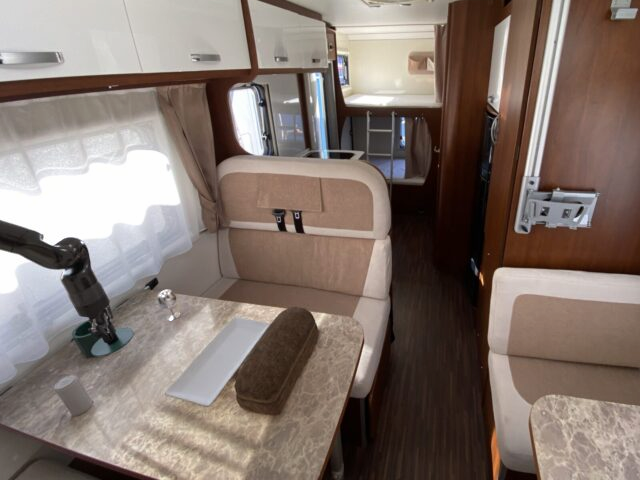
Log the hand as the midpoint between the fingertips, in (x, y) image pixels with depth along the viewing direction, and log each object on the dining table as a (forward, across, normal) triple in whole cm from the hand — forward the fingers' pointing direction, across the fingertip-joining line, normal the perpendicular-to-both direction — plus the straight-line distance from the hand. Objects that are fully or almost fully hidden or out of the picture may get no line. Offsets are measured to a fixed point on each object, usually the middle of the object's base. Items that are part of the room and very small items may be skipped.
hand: (110, 337), depth 101 cm
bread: (+12, +33, +48) cm, 59 cm away
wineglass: (+12, -16, +14) cm, 24 cm away
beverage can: (+12, +13, -8) cm, 20 cm away
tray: (+12, +19, +31) cm, 38 cm away
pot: (+12, -14, -9) cm, 20 cm away
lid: (+2, 0, 0) cm, 2 cm away
